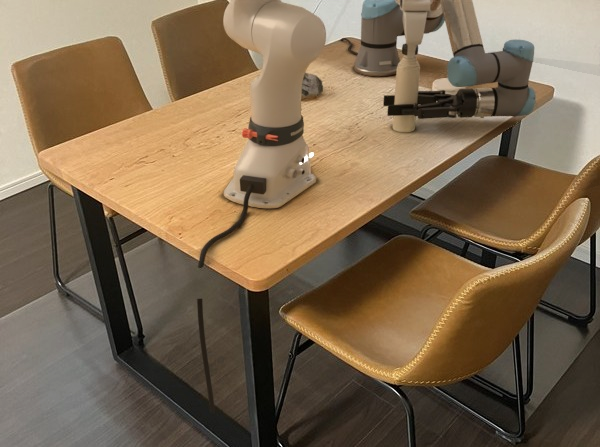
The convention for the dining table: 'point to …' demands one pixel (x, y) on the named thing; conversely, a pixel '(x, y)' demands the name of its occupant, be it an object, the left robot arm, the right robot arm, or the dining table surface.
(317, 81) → the rock
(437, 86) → the cream round flat disc
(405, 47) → the cap
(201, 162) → the dining table surface
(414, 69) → the bottle
